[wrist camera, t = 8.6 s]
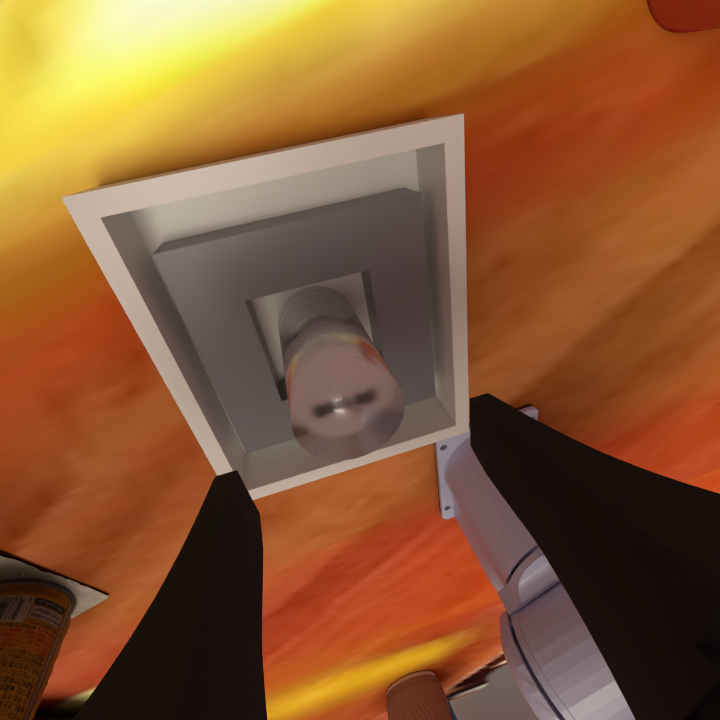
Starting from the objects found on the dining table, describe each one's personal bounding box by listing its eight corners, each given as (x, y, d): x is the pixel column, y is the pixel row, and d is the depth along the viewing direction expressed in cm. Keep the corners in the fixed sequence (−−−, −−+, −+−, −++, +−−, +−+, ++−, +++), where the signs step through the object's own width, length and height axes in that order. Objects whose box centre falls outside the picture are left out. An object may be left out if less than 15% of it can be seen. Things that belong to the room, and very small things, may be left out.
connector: (358, 346, 21) (408, 443, 14) (287, 363, 20) (305, 472, 14) (348, 278, 19) (400, 355, 12) (268, 295, 18) (278, 385, 12)
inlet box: (443, 397, 25) (468, 431, 22) (236, 460, 23) (234, 505, 21) (426, 118, 17) (463, 113, 14) (98, 186, 15) (61, 197, 12)
